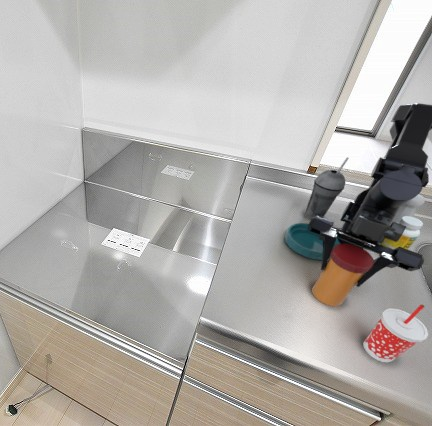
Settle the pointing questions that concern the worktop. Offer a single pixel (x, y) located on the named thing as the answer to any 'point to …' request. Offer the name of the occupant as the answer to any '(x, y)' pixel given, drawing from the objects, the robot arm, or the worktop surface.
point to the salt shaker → (409, 208)
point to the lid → (352, 258)
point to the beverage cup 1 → (325, 192)
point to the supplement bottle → (405, 233)
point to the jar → (334, 284)
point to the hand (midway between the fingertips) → (339, 278)
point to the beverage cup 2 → (395, 334)
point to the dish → (305, 241)
